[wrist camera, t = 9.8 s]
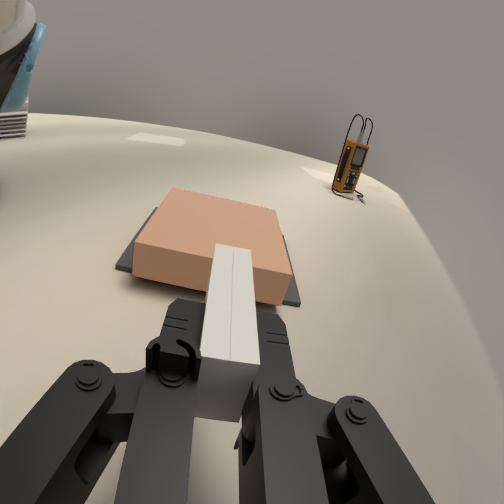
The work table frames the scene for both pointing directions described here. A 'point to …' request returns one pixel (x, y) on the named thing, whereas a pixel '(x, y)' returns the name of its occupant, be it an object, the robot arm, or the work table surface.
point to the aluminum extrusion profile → (14, 123)
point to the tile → (211, 243)
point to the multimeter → (350, 164)
